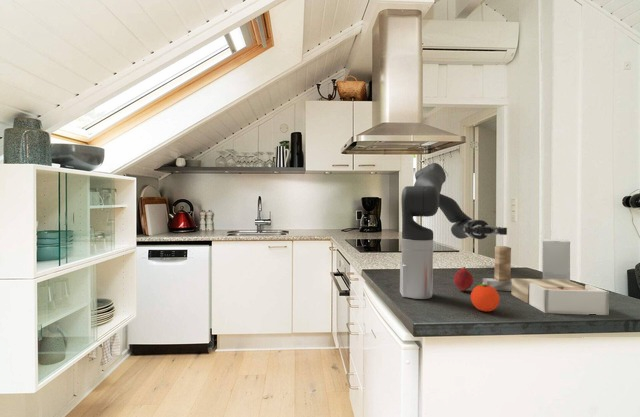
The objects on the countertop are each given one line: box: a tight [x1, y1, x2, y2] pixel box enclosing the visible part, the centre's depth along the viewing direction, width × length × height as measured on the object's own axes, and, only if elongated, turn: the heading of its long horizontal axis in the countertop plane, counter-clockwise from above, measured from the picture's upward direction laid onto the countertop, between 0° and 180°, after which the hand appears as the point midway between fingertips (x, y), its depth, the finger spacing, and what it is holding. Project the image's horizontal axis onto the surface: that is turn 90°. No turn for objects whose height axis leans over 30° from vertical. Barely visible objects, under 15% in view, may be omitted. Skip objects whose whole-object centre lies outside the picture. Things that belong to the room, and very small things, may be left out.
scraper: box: [482, 245, 512, 292], centre depth 116 cm, size 11×4×14 cm, turn 85°
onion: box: [453, 265, 474, 292], centre depth 113 cm, size 6×6×8 cm
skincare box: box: [541, 238, 571, 281], centre depth 126 cm, size 8×7×16 cm
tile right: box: [563, 287, 588, 291], centre depth 97 cm, size 4×4×3 cm
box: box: [528, 283, 610, 316], centre depth 95 cm, size 16×8×6 cm, turn 85°
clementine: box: [470, 283, 501, 312], centre depth 93 cm, size 8×7×7 cm
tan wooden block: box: [511, 277, 585, 305], centre depth 104 cm, size 16×10×5 cm, turn 85°
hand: (492, 231), depth 125 cm, fingers open, 8 cm apart
